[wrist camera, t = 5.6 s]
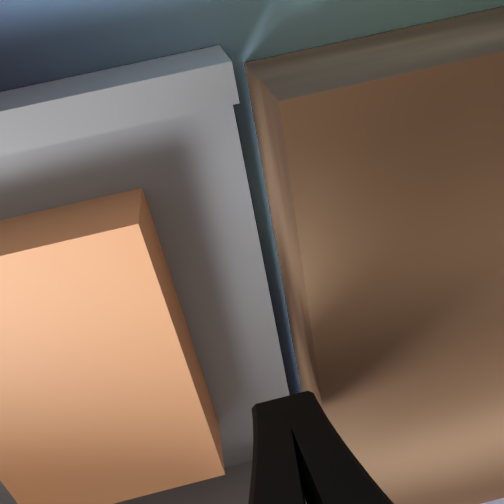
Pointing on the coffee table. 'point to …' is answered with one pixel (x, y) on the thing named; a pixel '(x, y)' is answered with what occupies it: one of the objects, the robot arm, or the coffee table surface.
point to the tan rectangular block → (97, 360)
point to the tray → (164, 217)
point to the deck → (396, 245)
